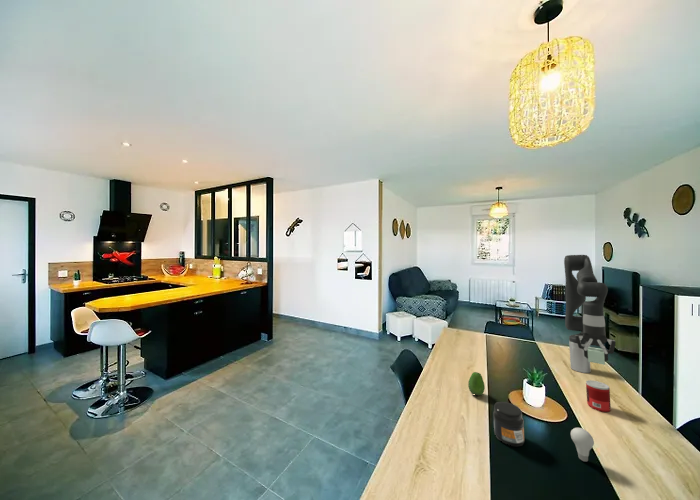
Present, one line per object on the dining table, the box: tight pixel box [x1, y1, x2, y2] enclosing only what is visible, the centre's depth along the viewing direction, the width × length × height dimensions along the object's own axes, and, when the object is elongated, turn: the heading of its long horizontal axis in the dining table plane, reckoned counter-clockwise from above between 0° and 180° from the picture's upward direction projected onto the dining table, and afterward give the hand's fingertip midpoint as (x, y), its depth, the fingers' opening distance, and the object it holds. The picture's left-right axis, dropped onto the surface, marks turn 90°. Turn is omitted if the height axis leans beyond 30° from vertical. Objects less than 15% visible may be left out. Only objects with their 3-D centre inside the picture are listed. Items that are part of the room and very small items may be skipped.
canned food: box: [585, 379, 612, 413], centre depth 118 cm, size 8×8×11 cm
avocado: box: [467, 371, 485, 396], centre depth 132 cm, size 8×8×12 cm
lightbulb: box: [570, 427, 595, 462], centre depth 89 cm, size 6×6×11 cm
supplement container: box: [492, 401, 526, 447], centre depth 101 cm, size 10×10×12 cm
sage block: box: [587, 346, 606, 366], centre depth 118 cm, size 6×6×6 cm
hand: (595, 359), depth 118 cm, fingers closed on sage block, 5 cm apart
